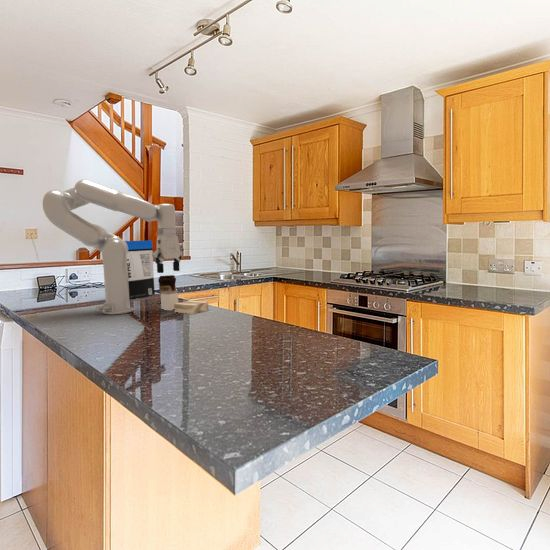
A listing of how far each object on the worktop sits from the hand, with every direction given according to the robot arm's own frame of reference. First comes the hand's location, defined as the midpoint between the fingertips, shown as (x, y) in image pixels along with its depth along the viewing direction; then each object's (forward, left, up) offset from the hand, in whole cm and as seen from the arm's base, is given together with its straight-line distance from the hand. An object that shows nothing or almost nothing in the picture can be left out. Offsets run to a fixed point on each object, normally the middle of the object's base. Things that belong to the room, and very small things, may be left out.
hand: (168, 271), depth 181 cm
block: (0, -13, -17) cm, 21 cm away
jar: (0, 0, -17) cm, 17 cm away
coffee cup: (+14, +15, -17) cm, 26 cm away
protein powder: (+19, +43, -17) cm, 50 cm away
